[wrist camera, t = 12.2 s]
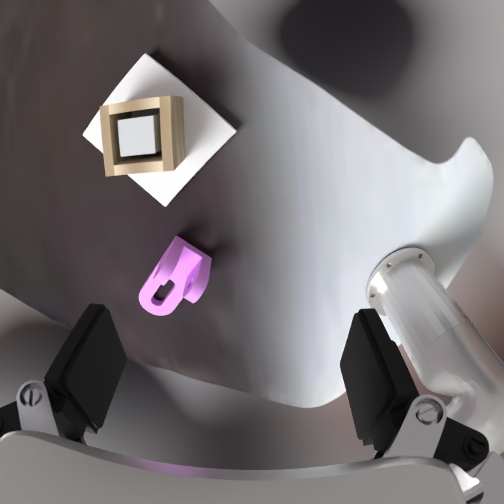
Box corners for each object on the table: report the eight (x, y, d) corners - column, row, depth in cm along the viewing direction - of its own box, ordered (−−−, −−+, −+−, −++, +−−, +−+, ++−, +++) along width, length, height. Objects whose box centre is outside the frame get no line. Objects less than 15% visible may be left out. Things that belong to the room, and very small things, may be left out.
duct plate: (236, 130, 30) (235, 137, 24) (168, 202, 34) (152, 226, 28) (148, 55, 25) (126, 45, 19) (88, 133, 29) (58, 143, 23)
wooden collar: (183, 96, 27) (170, 95, 22) (185, 158, 30) (173, 170, 25) (123, 104, 27) (99, 106, 21) (127, 162, 30) (106, 176, 25)
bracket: (176, 235, 37) (164, 263, 31) (211, 257, 38) (207, 288, 32) (135, 297, 41) (122, 328, 35) (166, 315, 43) (157, 347, 37)
